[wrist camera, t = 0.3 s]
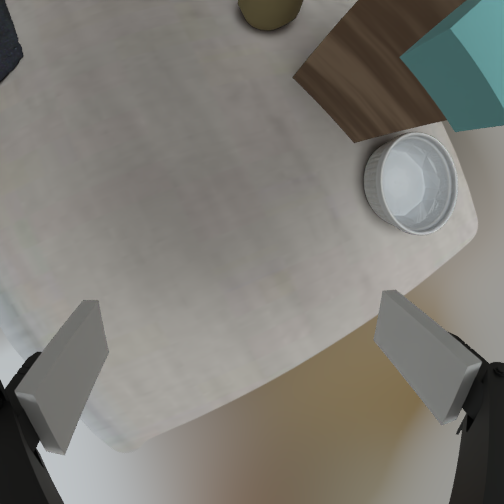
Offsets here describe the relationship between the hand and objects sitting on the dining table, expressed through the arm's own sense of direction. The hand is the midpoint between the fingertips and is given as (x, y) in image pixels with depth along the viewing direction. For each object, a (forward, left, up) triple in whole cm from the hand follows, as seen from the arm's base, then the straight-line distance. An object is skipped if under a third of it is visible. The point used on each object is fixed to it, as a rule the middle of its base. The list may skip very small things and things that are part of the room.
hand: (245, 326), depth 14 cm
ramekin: (-7, +24, -27) cm, 37 cm away
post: (-21, +18, -27) cm, 38 cm away
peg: (-18, +15, +3) cm, 23 cm away
